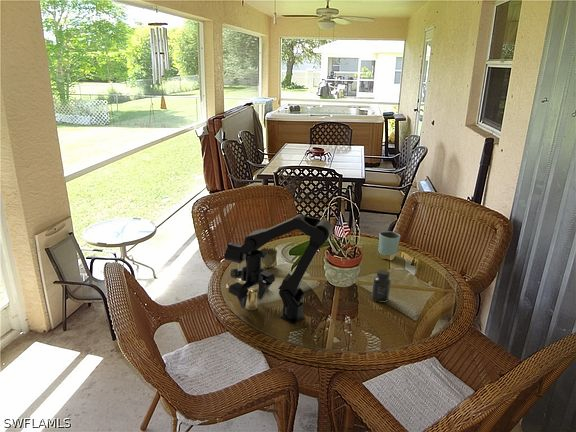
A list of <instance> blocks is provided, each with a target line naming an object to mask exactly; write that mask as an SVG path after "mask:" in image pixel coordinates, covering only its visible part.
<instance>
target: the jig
mask: <svg viewBox="0 0 576 432" xmlns="http://www.w3.org/2000/svg"><path fill="white" fill-rule="evenodd" d="M237 282H239V283H241V284H245V281H242V280H241V278H237V279H235V278H234V284H235V283H237ZM251 288H254V289H257V291H258V293H259V285H258V284H257V285H255V286H253V287H251ZM248 289H250V288H248Z"/></svg>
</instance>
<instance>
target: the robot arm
mask: <svg viewBox="0 0 576 432" xmlns="http://www.w3.org/2000/svg"><path fill="white" fill-rule="evenodd" d="M296 230H299V231H301V232H302V233H303V234H305V235H306V236H308V237H309V240H308V245H307V247H306V248H305V250H304V252H303V254H302V256H301V258H300V260H299V261H298V263H297V265H296V267H295V268H294V271H293V272H292V274H291V273H290V272H288V273H286V275H285V277H284V278H283V280H282V282H281V284H280V286H278V288H277V289H278V295H279V297H280V299H281V301H282V314H281V315H280V318H281V319H283V320H285V321H288V322H289V323H291V324H292V325H295V324H297V323H298V322H300V321H301V320H303V319H304V318H305V317H306V316H305V315H304V314H303V313H304V312H303V309H304V303H303V302H302V300H303V299H304V297H305V296H306V293H305V291H304V290H303V289H302V288H301V286H302V284H303V283H302V282H303V278H304V275H305V274H306V272H307V270H308V269H309V267H310V266H311V263H312V261H313V260H314V259H315V257H316V255H317V253H318V251H319V249H320V248H321V247H322V246H323V245H324V244H325V243H326V242H327V241H328V239H329V238H330V236H331V235H332V233H333V232H334V227H333V224H332V223H331V222H330V221H328V220H326V219H319V218H316V217H312V216H307V215H305V214H302V213H301V214H297V215H296V216H294V217H292V218H289V219H286V220H284V221H282V222H280V223H278V224H275V225H273V226H270V227H268V228H260V229H256V230H253V231H252V232H251V233H249V234H248V235H247V236H246V237H245V238H244V241H243V244H237V243H234V242H229V243H228V244H227V247H226V249H225V252H224V255H223V256H224V260H225V261H226V262H232V263H236V264H239V265H240V264H242V263H243V262H245V266H240V267H238V268H232V269H230V273H229V274H230V278H231V279H234V280H235V279H237V278H241V280H242V281H245V284H241V283H239V282H237V283H235V282H234V283H232V284H230V285H229V286H228V293H229V294H230V295H231V294H232V295H233V296H236V298H237V300H238V302H239V304H240V307H241V309H245V308H246V301H247V298H248V294H247V293H248V288H251V287H253V286H255V285H257V284H258V285H259V292H258V300H261V301H262V299H263V298H264V296H265V294H266V293H267V292H268V290H269V288H270V287H271V285H273V283H274V282H275V281H276V280H275V279H276V276H275V274H274V273H272V272H270V271H267V270H264V268H263V267H262V263H263V262H262V258H265V256H266V255H267V254H268V253H267V252H266V251H265V250H264V249H263V248H262V247H263V246H265V245H266V244H267V243H268V242H270V241H272V240H275V239H276V238H279V237H281V236H283V235H286V234H288V233H290V232H293V231H296ZM260 248H261V249H262V250H261V249H260Z"/></svg>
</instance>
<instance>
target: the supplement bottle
mask: <svg viewBox="0 0 576 432" xmlns="http://www.w3.org/2000/svg"><path fill="white" fill-rule="evenodd" d="M391 285H392V281H391V279H390V271H389V270H386V269H378V270H377V272H376V276H374V278H373V281H372V289H371V295H372V298H373V299H374V300H376V301H386V300H388V301H389V298H390V297H389V296H390V291H391ZM372 298H371V299H372ZM373 299H372V300H373ZM374 300H373V301H374ZM376 301H375V302H376Z"/></svg>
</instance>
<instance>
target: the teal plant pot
mask: <svg viewBox="0 0 576 432" xmlns="http://www.w3.org/2000/svg"><path fill="white" fill-rule="evenodd" d="M378 236H379V238H378V239H379V240H378V249H377V252H378V251H379V253H380V254H382V255H393V254H395V253H396V254H397V252H396V251H398V248H399V242H400V240H401V235H400V234H399V233H397V232H394V231H390V230H384V231H380V232H379V234H378Z"/></svg>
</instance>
